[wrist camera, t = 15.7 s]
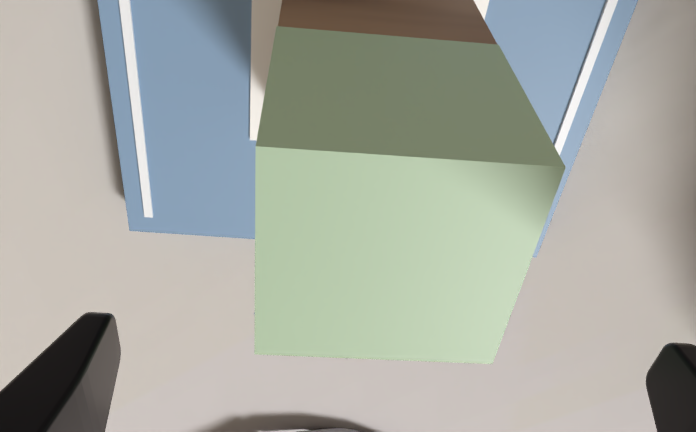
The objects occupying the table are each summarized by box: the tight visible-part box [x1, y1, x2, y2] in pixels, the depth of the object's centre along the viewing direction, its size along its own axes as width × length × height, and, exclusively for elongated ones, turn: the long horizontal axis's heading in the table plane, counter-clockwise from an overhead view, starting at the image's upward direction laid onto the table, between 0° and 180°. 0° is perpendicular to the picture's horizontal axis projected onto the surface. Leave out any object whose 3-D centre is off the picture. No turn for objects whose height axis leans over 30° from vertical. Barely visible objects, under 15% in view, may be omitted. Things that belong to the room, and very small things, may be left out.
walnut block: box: [278, 0, 498, 45], centre depth 17 cm, size 5×5×5 cm
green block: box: [255, 26, 566, 364], centre depth 13 cm, size 5×5×5 cm
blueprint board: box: [97, 0, 638, 257], centre depth 20 cm, size 16×16×1 cm
